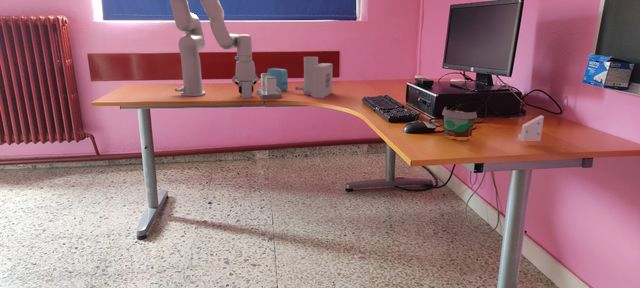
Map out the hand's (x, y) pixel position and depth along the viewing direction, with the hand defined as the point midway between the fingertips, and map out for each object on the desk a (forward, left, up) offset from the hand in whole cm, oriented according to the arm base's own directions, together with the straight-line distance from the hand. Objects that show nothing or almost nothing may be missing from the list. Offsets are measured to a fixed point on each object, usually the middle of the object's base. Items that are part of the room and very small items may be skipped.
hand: (246, 93), depth 231 cm
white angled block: (+80, -116, -2) cm, 141 cm away
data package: (+20, +16, -2) cm, 26 cm away
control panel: (+35, -4, -2) cm, 35 cm away
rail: (+12, 0, -1) cm, 12 cm away
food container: (+60, -103, -2) cm, 119 cm away
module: (0, 0, -2) cm, 2 cm away
